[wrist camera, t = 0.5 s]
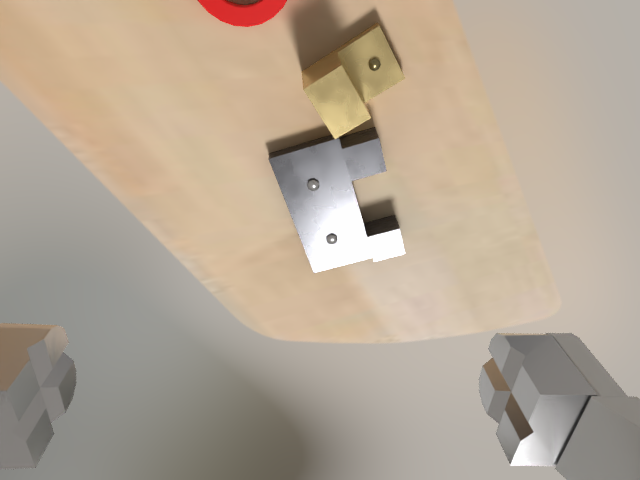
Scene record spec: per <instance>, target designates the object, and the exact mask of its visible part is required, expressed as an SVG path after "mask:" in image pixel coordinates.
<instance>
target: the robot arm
mask: <svg viewBox="0 0 640 480" xmlns="http://www.w3.org/2000/svg"><path fill="white" fill-rule="evenodd" d="M68 343H69V341H68V338H67V335H66V332H65V329H64V328H62V327H60V326H58V325H37V324H12V323H11V324H10V323H1V324H0V469H18V468H36V466H37V464H38V462H39V461H40V459H41V457H42V455H43V453H44V451H45V450H46V447H47V446H48V444H49V442H50V440H51V439H52V437H53V435H54V432H53V428H52V425H51V423H52V422H53V421H54V420H56V419H57V418H59V417H60V416H61V415H63V414H64V413H66V410H67V409H68V407H69V405H70V403H71V401H72V399H73V395H74V390H75V386H76V368H75V364H74V361H73V360H72V359H71V358H70V357H69V356H67V355H66V354H65V353H64V352H63V351H64V349H65V348H66V346H67V345H68ZM488 349H489V351H490V353H491V355H492V357H493V358H492V359H490V360H489V361H488V362H487V363H485V364H484V365H483V367H482V370H481V374H480V378H479V389H480V390H479V392H480V397H481V400H482V404H483V406H484V408H485V411H486V413H487V414H488V415H489V416H490V417H492V418H493V419H494V420H495V421H496V422H498V423H499V426H498V429H497V432H496V435H497V437H498V439H499V441H500V443H501V446H502V448H503V450H504V452H505V454H506V456H507V459H508V461H509V463H510V465H522V466H523V465H524V466H556V468H555V469H556V470H557V471H558V472H559V473H560V474H561V475H563V477H565V478H566V479H567V480H640V399H639V398H637V397H628V396H627V395H626V394H625V393H624V391H623V390H622V389H621V388H620V387H619V385H617V383H616V382H615V381H614V379H613V378H612V377H611V376H610V374H609V373H608V372H607V371H606V370H605V369H604V367H603V366H602V365H601V364H600V363H599V361H598V360H597V359H596V358H595V356H594V355H593V354H592V353H591V352H590V350H589V349H588V348H587V347H586V346H585V344H584V343H583V342H582V341H581V340H580V338H578V337H577V336H575V335H574V334H572V333H546V334H514V333H512V334H511V333H506V334H505V333H497V334H495V336H494V337H493V338H492V339H491V342H490V345H489V348H488Z"/></svg>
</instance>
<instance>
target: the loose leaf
mask: <svg viewBox="0 0 640 480" xmlns="http://www.w3.org/2000/svg"><path fill="white" fill-rule="evenodd" d="M302 79H303V90H304V91H305V93H306V94H307V96H308V98H309V99H310V101H311V102H312V104H313V105H314V107H315V109H316V110H317V112H318V113H319V115H320V116H321V118H322V120H323V121H324V123H325V124H326V126H327V128H328V129H329V131H330V132H331V134H332V135H333V137H334V139H337V138H338V137H340V136H342V135H343V134H345V133H347V132H348V131H350V130H352V129H353V128H355V127H357V126H359V125H360V124H362V123H364V122H365V121H367V120H369V119H370V118H371V116H370V114H369V111H368V109H367V106H366V104H365V102H367V101H368V100H370V99H372V98H373V97H375V96H377V95H378V94H380V93H382V92H383V91H385V90H387V89H388V88H390V87H392V86H393V85H395V84H397V83H398V82H400V81H402V80H403V79H405V77H404V75H403V73H402V71H401V69H400V67H399V65H398V62H397V60H396V58H395V56H394V54H393V52H392V50H391V48H390V46H389V44H388V42H387V40H386V38H385V36H384V34H383V32H382V30H381V28H380V25H379V24H378V23H376V24H374V25H373V26H371V27H370V28H368V29H367V30H365V31H364V32H362V33H361V34H359V35H358V36H356V37H355V38H353V39H351V40H350V41H348V42H347V43H345V44H344V45H342V46H341V47H339V48H338V49H336V50H335V51H333V52H331V53H330V54H328V55H327V56H325V57H324V58H322V59H321V60H319V61H318V62H316V63H315V64H313V65H311V66H310V67H308V68H307V69H305V70H304V71H302Z"/></svg>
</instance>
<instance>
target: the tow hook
mask: <svg viewBox="0 0 640 480" xmlns="http://www.w3.org/2000/svg"><path fill="white" fill-rule="evenodd" d="M198 1H199V3H200V4H201V5H202V6H203V7H204V8H205V9H206V10H207V11H208V12H209V13H210V14H212V15H213V16H215V17H216V18H217V19H219V20H220V21H223V22H225V23H228V24H231V25H234V26H244V27H249V26H254V25H259V24H262V23H264V22H266V21H268V20H269V19H271V18H273V17H274V16H275V15H276V14H277V13H278V12H279V11H280V10H281V9H282V8H283V7H284V5H285V3H286V1H287V0H260V1H258V2H256V3H254V4H249V5H238V4H235V3H232V2H229V1H227V0H198Z"/></svg>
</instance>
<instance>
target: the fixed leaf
mask: <svg viewBox="0 0 640 480" xmlns="http://www.w3.org/2000/svg"><path fill="white" fill-rule="evenodd" d="M269 161H270V164H271V166H272V169H273V171H274V174H275V176H276V179H277V181H278V184H279V186H280V189H281V191H282V194H283V196H284V199H285V201H286V204H287V206H288V209H289V212H290V214H291V217H292V219H293V222H294V224H295V227H296V229H297V232H298V234H299V237H300V239H301V242H302V244H303V247H304V249H305V252H306V254H307V257H308V259H309V262H310V265H311V267H312V270H313V272H314V273H316V272H320V271H324V270H327V269H331V268H335V267H339V266H343V265H347V264H350V263H354V262H358V261H362V260H366V259H369V258H373V260H374V262H376V261H380V260H384V259H387V258H391V257H395V256H399V255H403V254H405V250H404V245H403V241H402V236H401V232H400V228H399V225H398V222H397V219H396V217H395V215H394V216H390V217H386V218H383V219H379V220H375V221H372V222H368V223H364V222H363V219H362V215H361V212H360V208H359V205H358V201H357V198H356V194H355V191H354V187H353V184H352V181H354V180H357V179H361V178H364V177H368V176H371V175H375V174H378V173H382V172H385V171H386V166H385V162H384V157H383V153H382V149H381V144H380V140H379V137H378V134H377V132H376V129H375V127H374V128H370V129H367V130H364V131H360V132H357V133H354V134H350V135H347V136H344V137H340V138H339V137H338V138H337V139H334V137H333V135H330V136H327V137H323V138H320V139H316V140H313V141H310V142H306V143H303V144H300V145H296V146H293V147H290V148H286V149H283V150H280V151H276V152H273V153H270V154H269Z"/></svg>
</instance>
